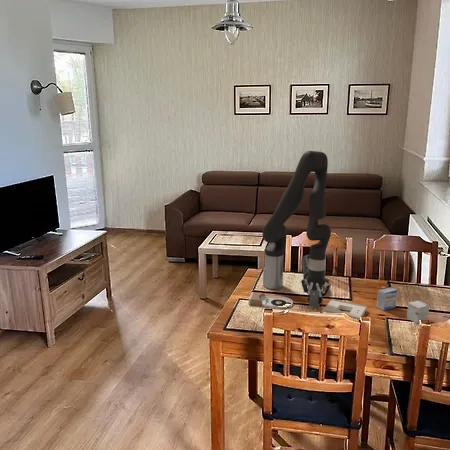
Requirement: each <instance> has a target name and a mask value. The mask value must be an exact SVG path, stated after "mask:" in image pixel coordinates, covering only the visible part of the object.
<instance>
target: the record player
mask: <svg viewBox="0 0 450 450" xmlns="http://www.w3.org/2000/svg"><path fill="white" fill-rule="evenodd" d="M287 302H290V303H291V304H290V305H289V306H286V307H290V306H291V305H293V306H294V300H292V298H289V297H287V296H279V295H266V294H265V293H264V292H254V291H251V293H250V295H249V298H248V305H249V306H257V305H258V306H259V305H260V306H261V307H263V306H264V308H267V307H273V308H272V309H276V308H286V307H278V306H283V305H285V304H287ZM260 306H259V307H260ZM290 308H291V307H290Z"/></svg>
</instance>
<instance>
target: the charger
mask: <svg viewBox="0 0 450 450" xmlns="http://www.w3.org/2000/svg"><path fill="white" fill-rule="evenodd" d="M318 301H319V291H318V290H317V289H312V290H310V298H309V301H308V303H309V304H308V306H309V307H311V308H316V309H318V308H319V307H320V305H321V304H318Z"/></svg>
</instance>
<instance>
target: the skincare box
mask: <svg viewBox="0 0 450 450" xmlns="http://www.w3.org/2000/svg"><path fill="white" fill-rule="evenodd" d="M407 306H408V307H407V311H406V312H407V313H406V318H407V320H410V321H412V322H414V324H415V323H416V324H420V323H419V320H427V321H428V320H429V319H428V318H429V310H430V305H428V304H426V303H425V302H422V301H421V300H415V301H410V302H408V305H407Z"/></svg>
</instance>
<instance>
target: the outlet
mask: <svg viewBox="0 0 450 450" xmlns="http://www.w3.org/2000/svg"><path fill="white" fill-rule="evenodd" d="M367 307H368V306H367V305H363V304H359V303H353V302H349V301H345V300H340V299H339V300H338V299H334V298H331V299H330V301H329V302H327V304H326V305H325V307H324V308H323V309H322V310H321V313H322V312H326V313H345V314H347V315H348V316H349V317H351V318H353V319H357V320H358V319H359V318H360V317H362V316H363V317H364V315H365V314H366V312H367ZM363 317H362V318H363Z"/></svg>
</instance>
